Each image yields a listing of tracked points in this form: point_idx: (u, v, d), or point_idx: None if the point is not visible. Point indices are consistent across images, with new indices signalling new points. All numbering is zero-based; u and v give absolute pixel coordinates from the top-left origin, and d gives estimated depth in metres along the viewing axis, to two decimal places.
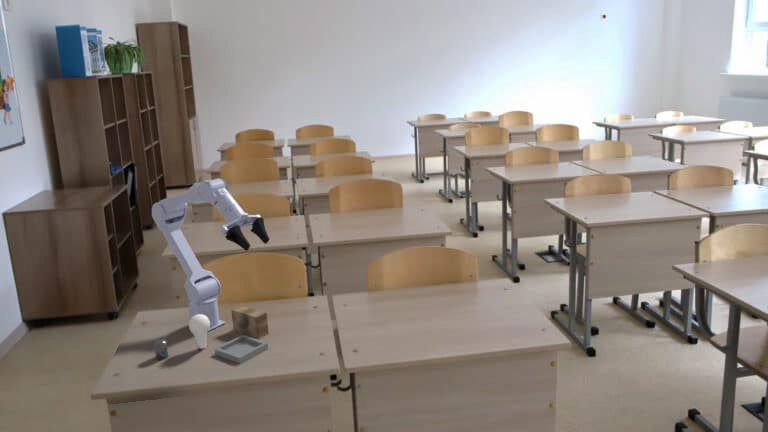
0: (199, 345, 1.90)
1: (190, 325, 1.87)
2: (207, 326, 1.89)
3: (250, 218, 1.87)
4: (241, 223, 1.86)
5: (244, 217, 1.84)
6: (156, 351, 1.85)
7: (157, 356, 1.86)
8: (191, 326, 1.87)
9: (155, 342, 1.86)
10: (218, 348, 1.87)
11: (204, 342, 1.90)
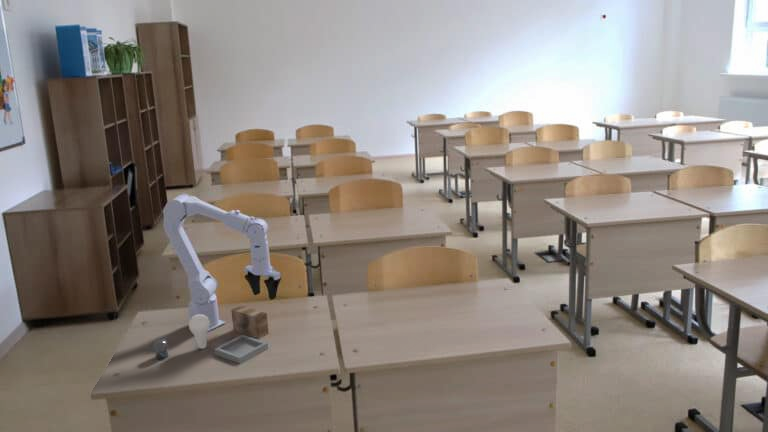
0: (199, 345, 1.90)
1: (190, 325, 1.87)
2: (207, 326, 1.89)
3: None
4: None
5: None
6: (156, 351, 1.85)
7: (157, 356, 1.86)
8: (191, 326, 1.87)
9: (155, 342, 1.86)
10: (218, 348, 1.87)
11: (204, 342, 1.90)
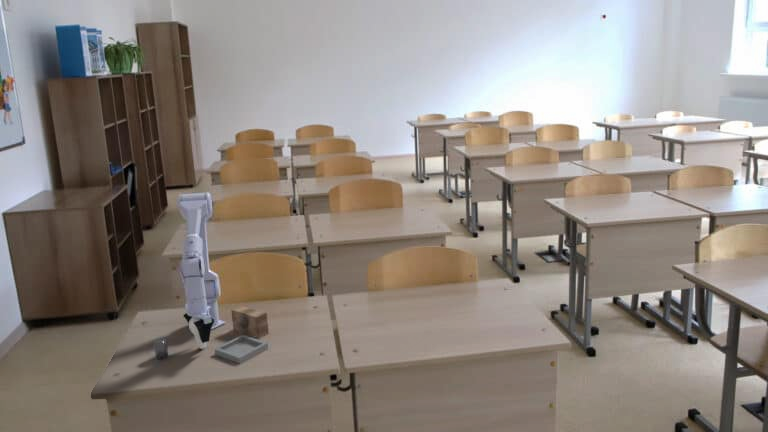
0: (199, 345, 1.90)
1: (190, 325, 1.87)
2: None
3: None
4: None
5: None
6: (156, 351, 1.85)
7: (157, 356, 1.86)
8: (191, 326, 1.87)
9: (155, 342, 1.86)
10: (218, 348, 1.87)
11: None
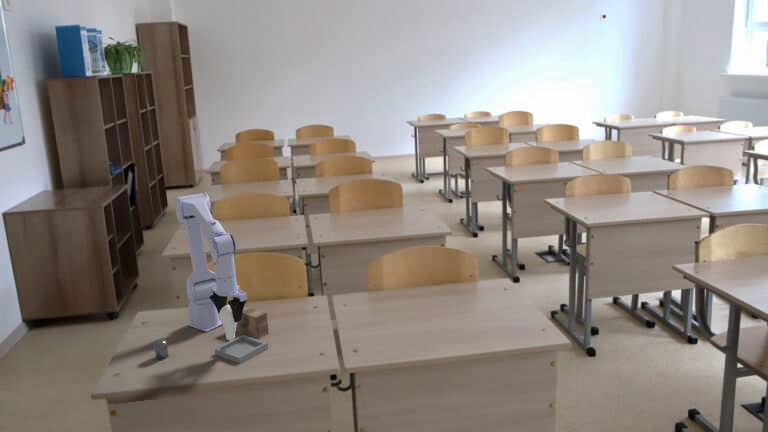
0: (229, 336, 1.86)
1: (222, 316, 1.83)
2: None
3: None
4: None
5: None
6: (156, 351, 1.85)
7: (157, 356, 1.86)
8: (224, 316, 1.83)
9: (155, 342, 1.86)
10: (218, 348, 1.87)
11: (234, 333, 1.87)
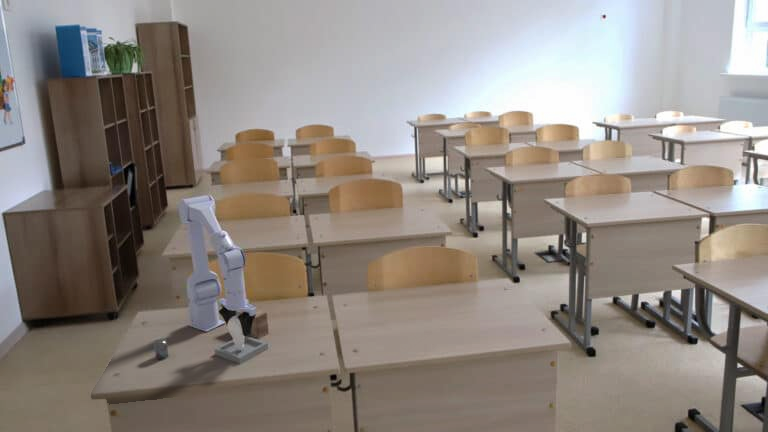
0: (238, 347, 1.86)
1: (231, 327, 1.83)
2: None
3: None
4: None
5: None
6: (156, 351, 1.85)
7: (157, 356, 1.86)
8: (232, 327, 1.83)
9: (155, 342, 1.86)
10: (218, 348, 1.87)
11: (242, 343, 1.87)
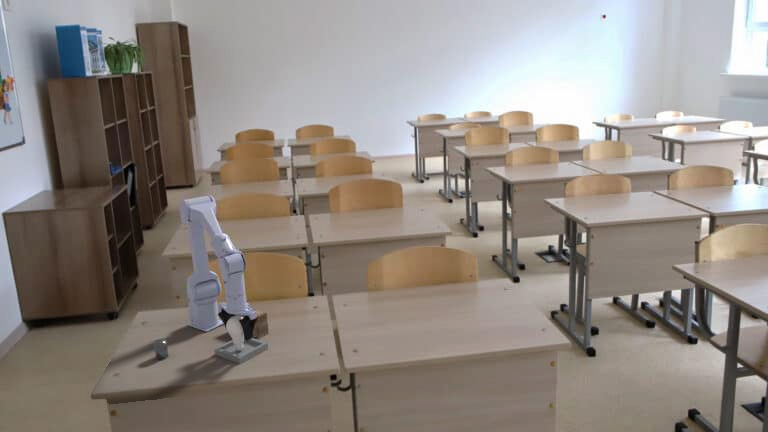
0: (237, 347, 1.86)
1: (229, 327, 1.83)
2: None
3: None
4: None
5: None
6: (156, 351, 1.85)
7: (157, 356, 1.86)
8: (231, 328, 1.83)
9: (155, 342, 1.86)
10: (218, 348, 1.87)
11: (242, 344, 1.87)
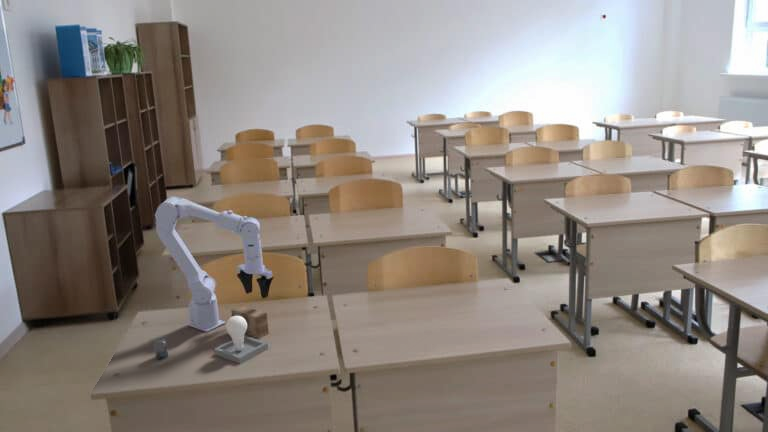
0: (237, 347, 1.86)
1: (229, 327, 1.83)
2: (246, 327, 1.86)
3: None
4: None
5: None
6: (156, 351, 1.85)
7: (157, 356, 1.86)
8: (231, 328, 1.83)
9: (155, 342, 1.86)
10: (218, 348, 1.87)
11: (242, 344, 1.87)
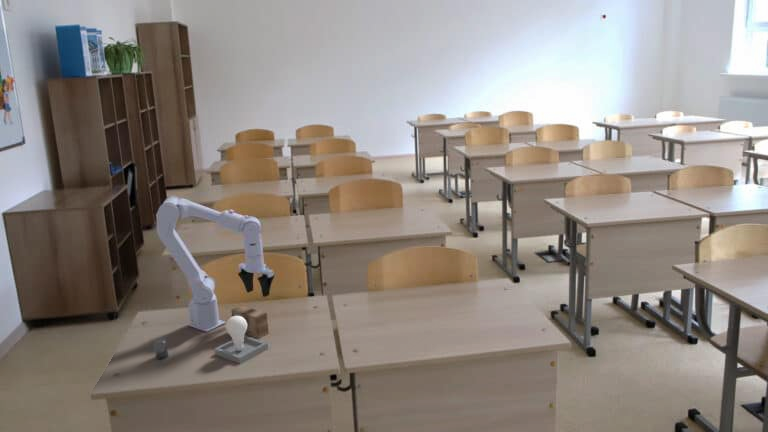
0: (237, 347, 1.86)
1: (229, 327, 1.83)
2: (246, 327, 1.86)
3: None
4: None
5: None
6: (156, 351, 1.85)
7: (157, 356, 1.86)
8: (231, 328, 1.83)
9: (155, 342, 1.86)
10: (218, 348, 1.87)
11: (242, 344, 1.87)
